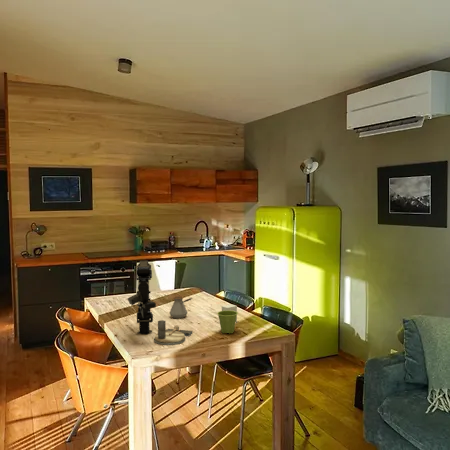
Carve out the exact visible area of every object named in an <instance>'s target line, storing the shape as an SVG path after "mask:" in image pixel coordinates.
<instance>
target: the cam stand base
mask: <svg viewBox="0 0 450 450" xmlns="http://www.w3.org/2000/svg"><path fill="white" fill-rule="evenodd" d="M173 330H174V328H167V329H166V331H173ZM176 331H177V332H181V333H184V335H185V338H184V339H183V340H182V341H179V342H173V343H163V342H158V341H156V340H155V337H154V338H153V342H154V343H155V344H157V345H162V346H173V345H174V346H175V345H180V344H182V343H185V341H186V337H190V336H192V335H193V330H187V329H178V330H176ZM191 334H192V335H191Z"/></svg>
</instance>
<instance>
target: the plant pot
mask: <svg viewBox="0 0 450 450" xmlns="http://www.w3.org/2000/svg"><path fill="white" fill-rule="evenodd" d="M216 314H217V316H218V320H219V326H220V331H221V333H222V334H224V333H229V334H233V332H234V333H235V327H236V323H237V322H236V317H237V318H238V314H239V312H238V311H237V312H236V311H229V310H227V311H222V310H220V311H218V312H217V313H216ZM235 322H236V323H235Z"/></svg>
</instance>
